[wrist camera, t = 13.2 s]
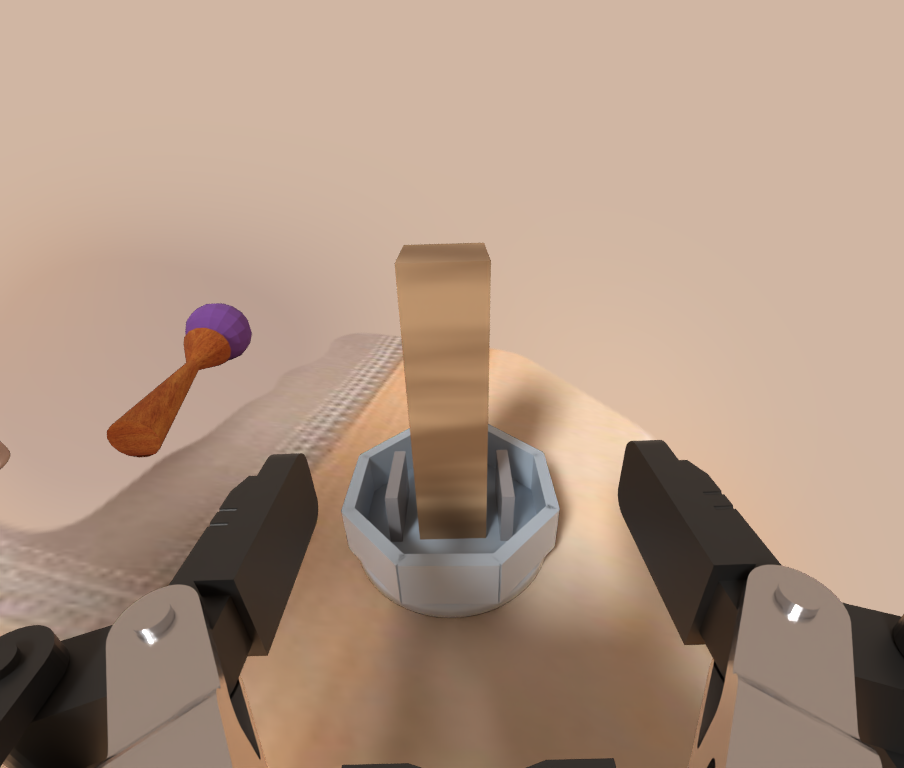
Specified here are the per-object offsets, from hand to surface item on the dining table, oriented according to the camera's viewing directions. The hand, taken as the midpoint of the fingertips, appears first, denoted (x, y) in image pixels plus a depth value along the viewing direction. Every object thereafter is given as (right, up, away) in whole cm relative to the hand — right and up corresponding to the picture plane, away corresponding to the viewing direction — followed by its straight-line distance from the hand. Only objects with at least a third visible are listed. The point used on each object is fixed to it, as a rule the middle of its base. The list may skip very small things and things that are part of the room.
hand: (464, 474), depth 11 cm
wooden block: (0, -5, +12) cm, 13 cm away
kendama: (-24, +1, +28) cm, 37 cm away
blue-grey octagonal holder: (0, -6, +13) cm, 14 cm away
